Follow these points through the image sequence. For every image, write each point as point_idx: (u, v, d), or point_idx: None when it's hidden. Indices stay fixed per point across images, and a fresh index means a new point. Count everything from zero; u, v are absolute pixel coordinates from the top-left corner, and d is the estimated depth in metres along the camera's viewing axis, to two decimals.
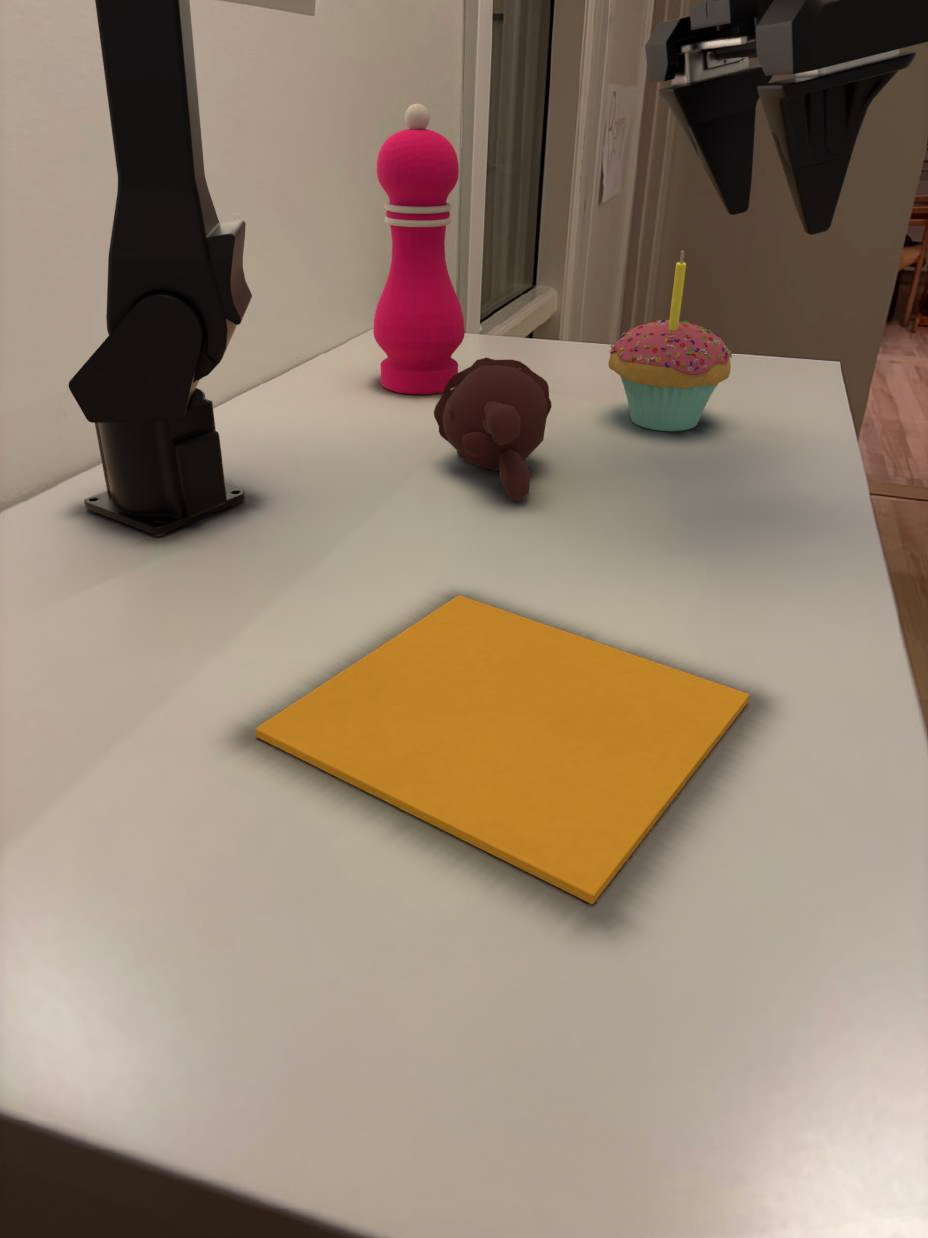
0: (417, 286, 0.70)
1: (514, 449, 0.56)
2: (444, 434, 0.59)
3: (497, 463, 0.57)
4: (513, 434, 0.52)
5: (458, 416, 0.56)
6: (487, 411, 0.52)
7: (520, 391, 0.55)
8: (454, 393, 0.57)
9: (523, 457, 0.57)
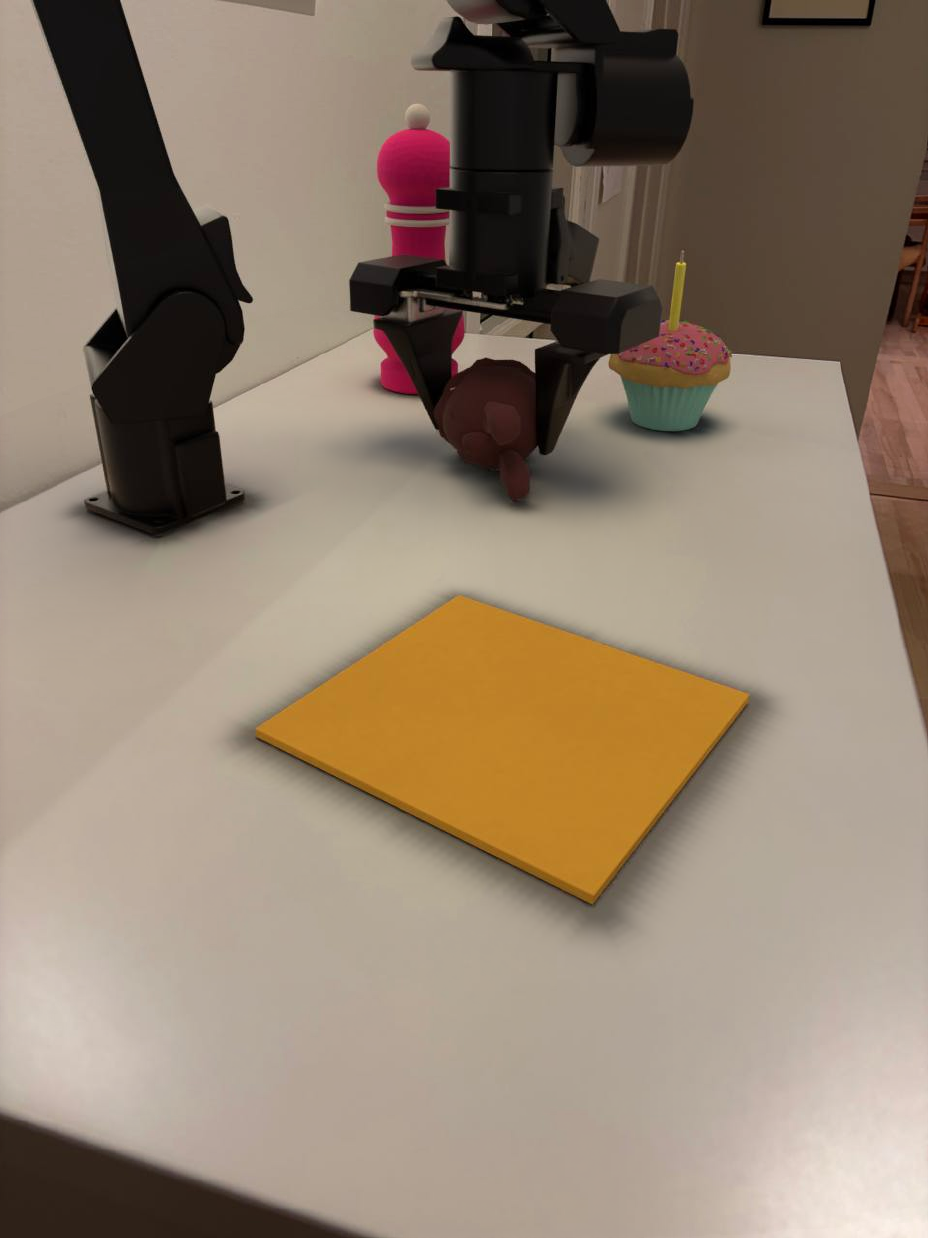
0: None
1: (514, 449, 0.56)
2: (444, 434, 0.59)
3: (497, 463, 0.57)
4: (513, 434, 0.52)
5: (458, 416, 0.56)
6: (487, 411, 0.52)
7: (520, 391, 0.55)
8: (454, 393, 0.57)
9: (523, 457, 0.57)
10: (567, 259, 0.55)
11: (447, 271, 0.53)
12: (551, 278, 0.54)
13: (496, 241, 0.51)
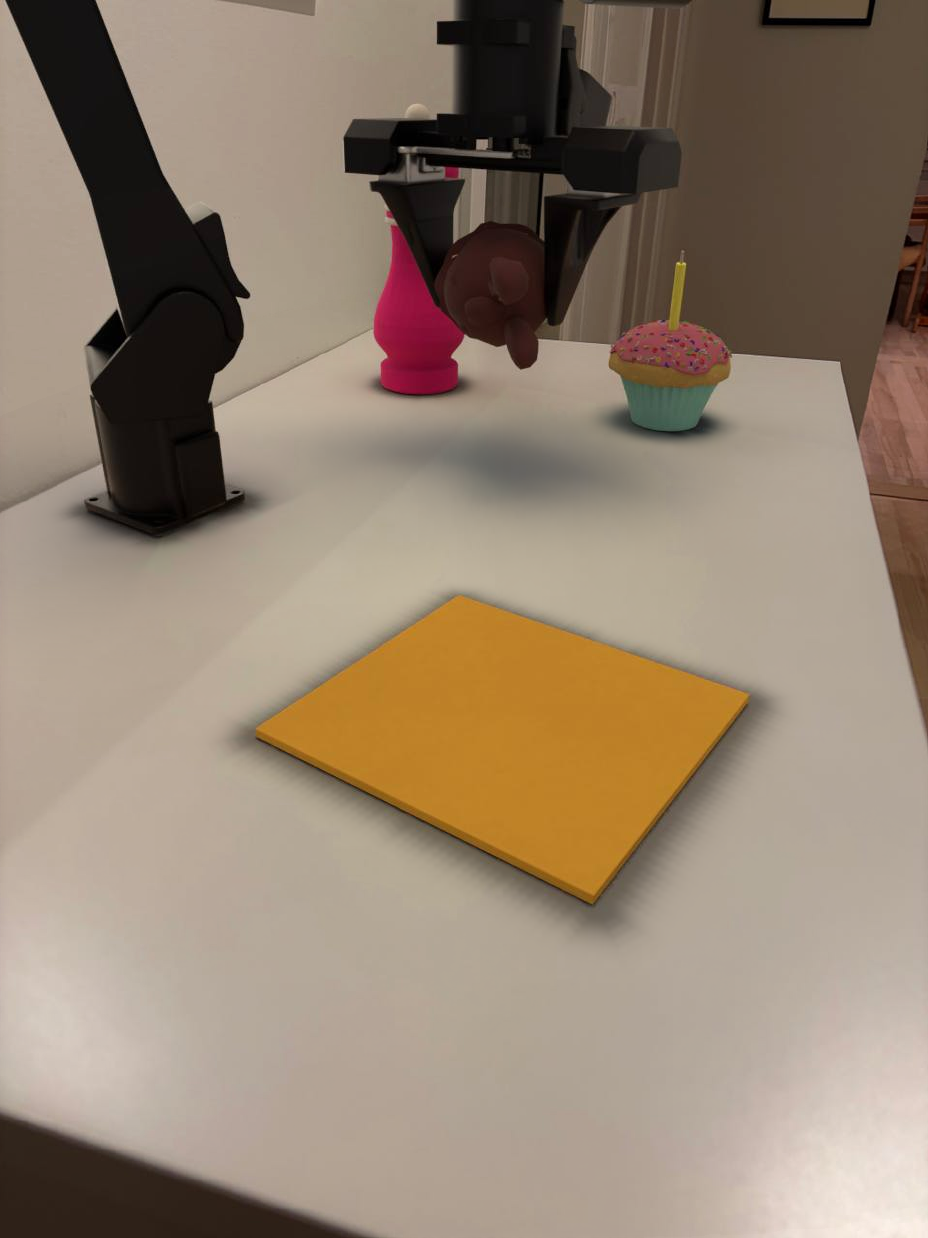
0: (417, 286, 0.70)
1: (520, 317, 0.52)
2: (445, 309, 0.55)
3: (502, 334, 0.53)
4: (521, 289, 0.48)
5: (460, 281, 0.52)
6: (492, 266, 0.48)
7: (528, 254, 0.51)
8: (456, 259, 0.53)
9: None
10: (578, 109, 0.51)
11: (449, 116, 0.49)
12: (561, 129, 0.50)
13: (502, 77, 0.47)
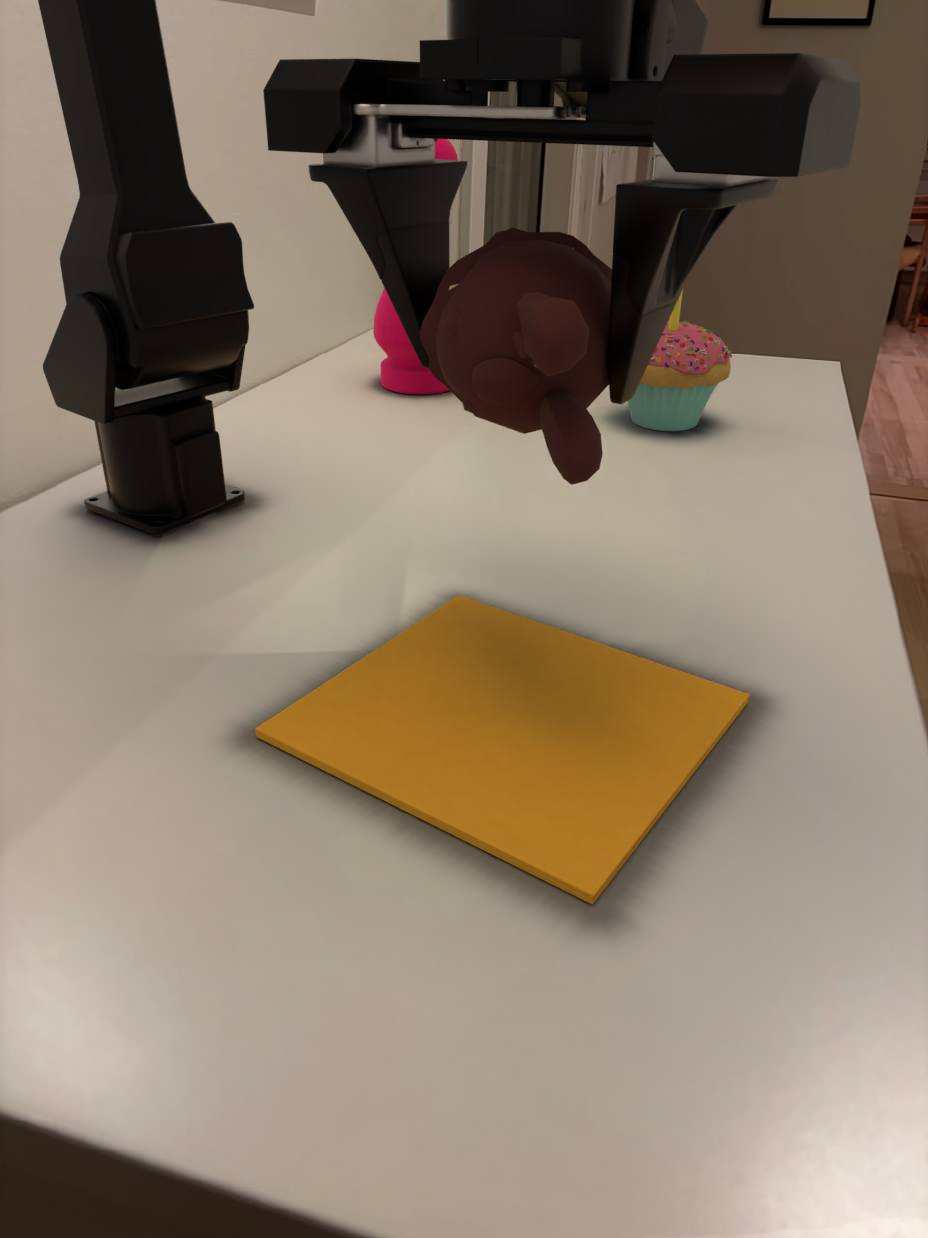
0: None
1: (568, 390, 0.30)
2: (438, 372, 0.34)
3: (536, 418, 0.31)
4: (576, 352, 0.26)
5: (464, 331, 0.30)
6: (524, 310, 0.27)
7: (579, 284, 0.30)
8: (456, 292, 0.31)
9: None
10: (665, 35, 0.29)
11: (442, 44, 0.27)
12: (636, 69, 0.29)
13: None
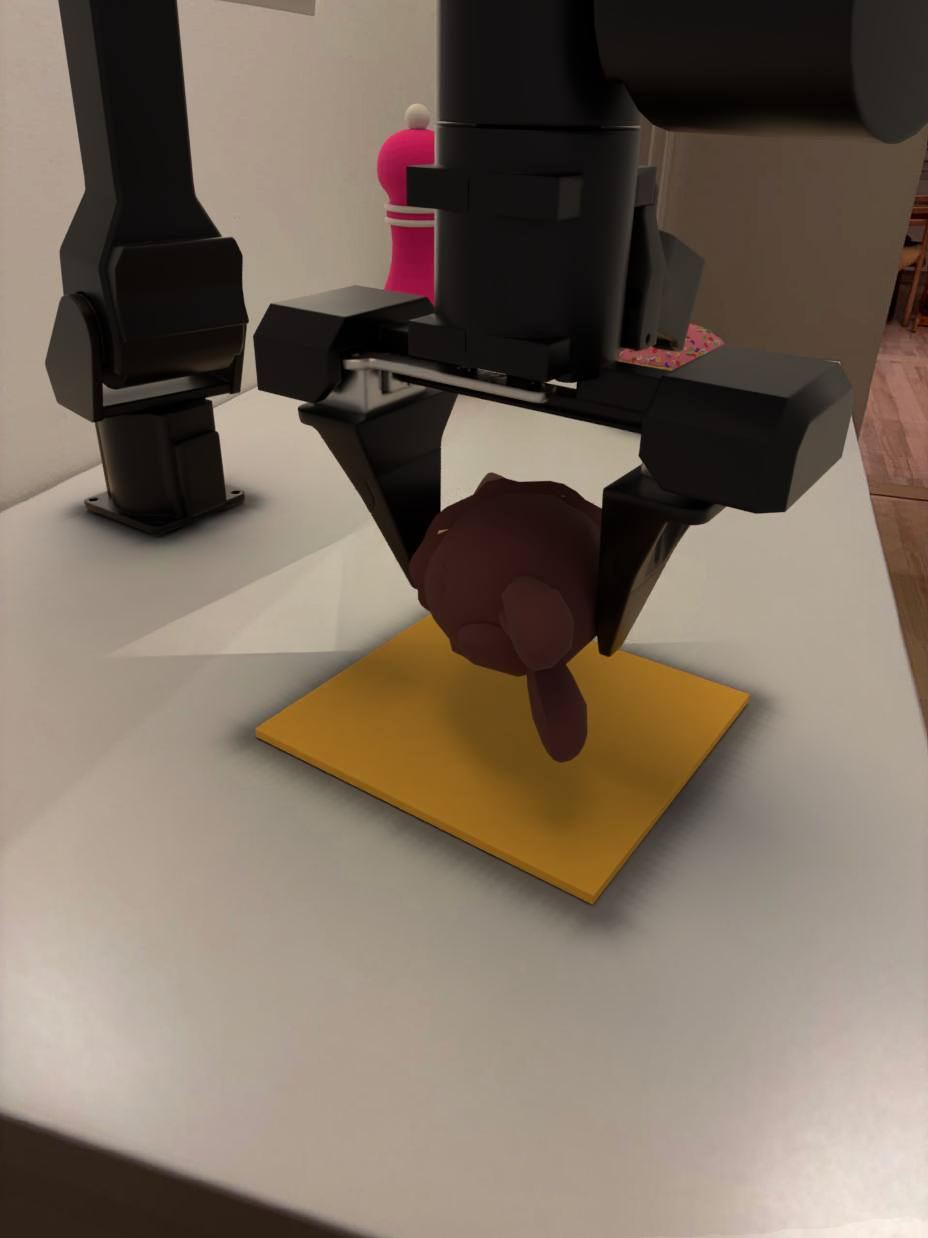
0: (417, 286, 0.70)
1: None
2: (427, 604, 0.34)
3: (523, 672, 0.31)
4: (560, 654, 0.26)
5: (451, 591, 0.30)
6: (508, 605, 0.27)
7: (568, 548, 0.30)
8: (445, 544, 0.31)
9: (570, 658, 0.31)
10: (658, 303, 0.29)
11: (430, 328, 0.27)
12: (628, 339, 0.29)
13: (527, 274, 0.25)
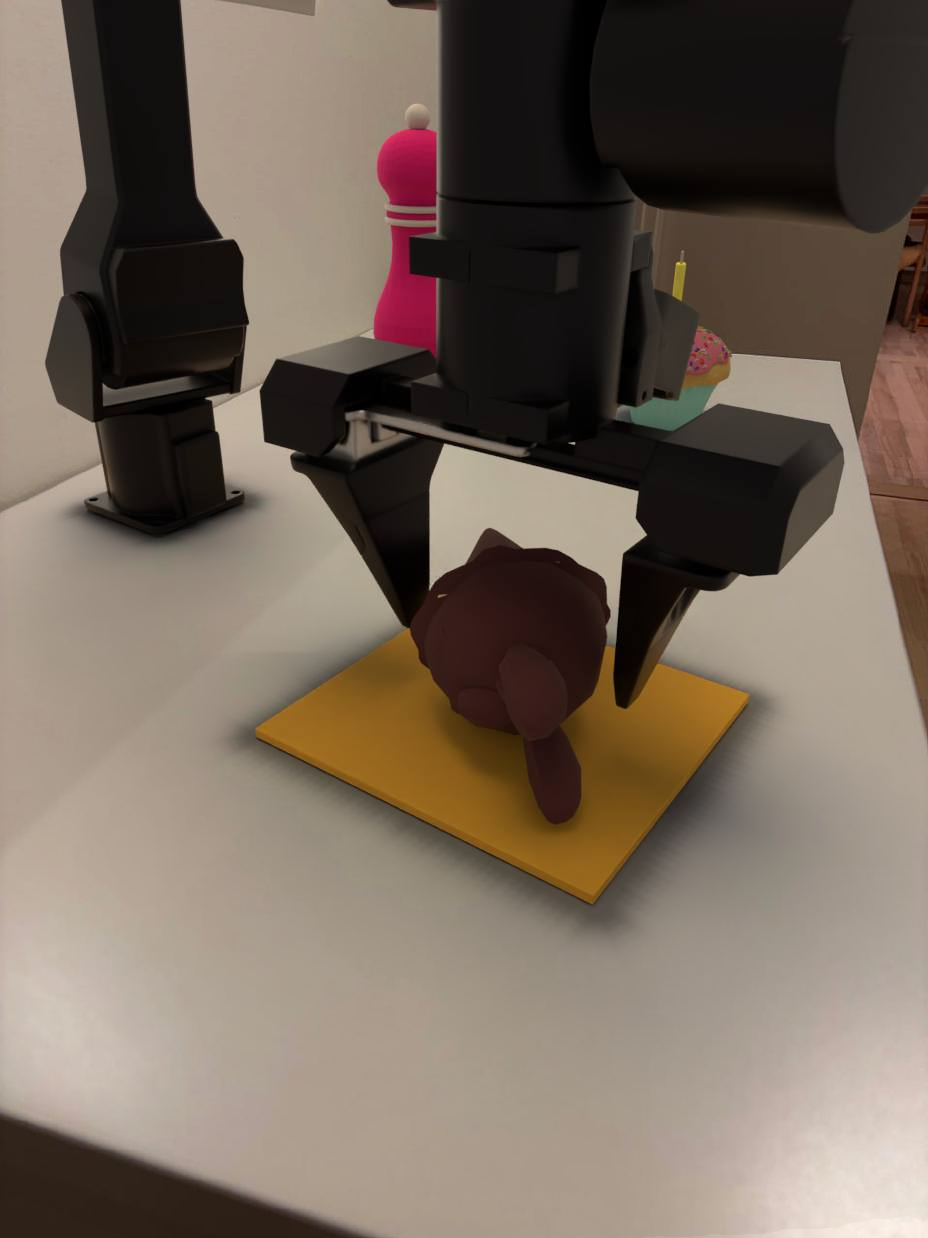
0: (417, 286, 0.70)
1: None
2: (428, 663, 0.35)
3: None
4: (554, 725, 0.27)
5: (451, 656, 0.31)
6: (505, 677, 0.28)
7: (562, 615, 0.31)
8: (444, 609, 0.32)
9: (565, 718, 0.33)
10: (654, 361, 0.30)
11: (432, 390, 0.28)
12: (625, 396, 0.30)
13: (527, 341, 0.26)
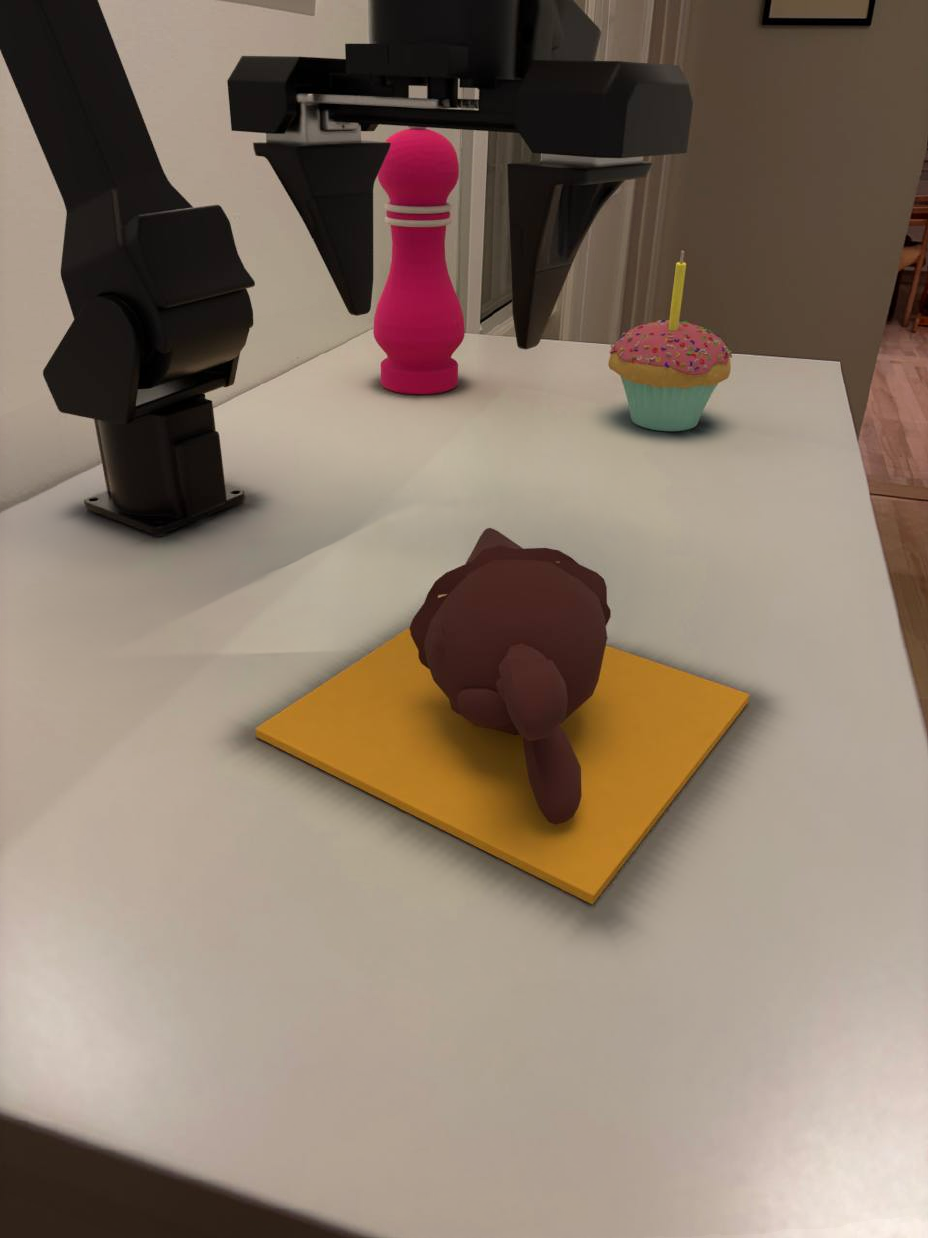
0: (417, 286, 0.70)
1: None
2: (428, 663, 0.35)
3: None
4: (554, 725, 0.27)
5: (451, 656, 0.31)
6: (505, 677, 0.28)
7: (562, 615, 0.31)
8: (444, 609, 0.32)
9: (565, 718, 0.33)
10: (549, 42, 0.36)
11: (361, 47, 0.34)
12: (524, 69, 0.36)
13: None
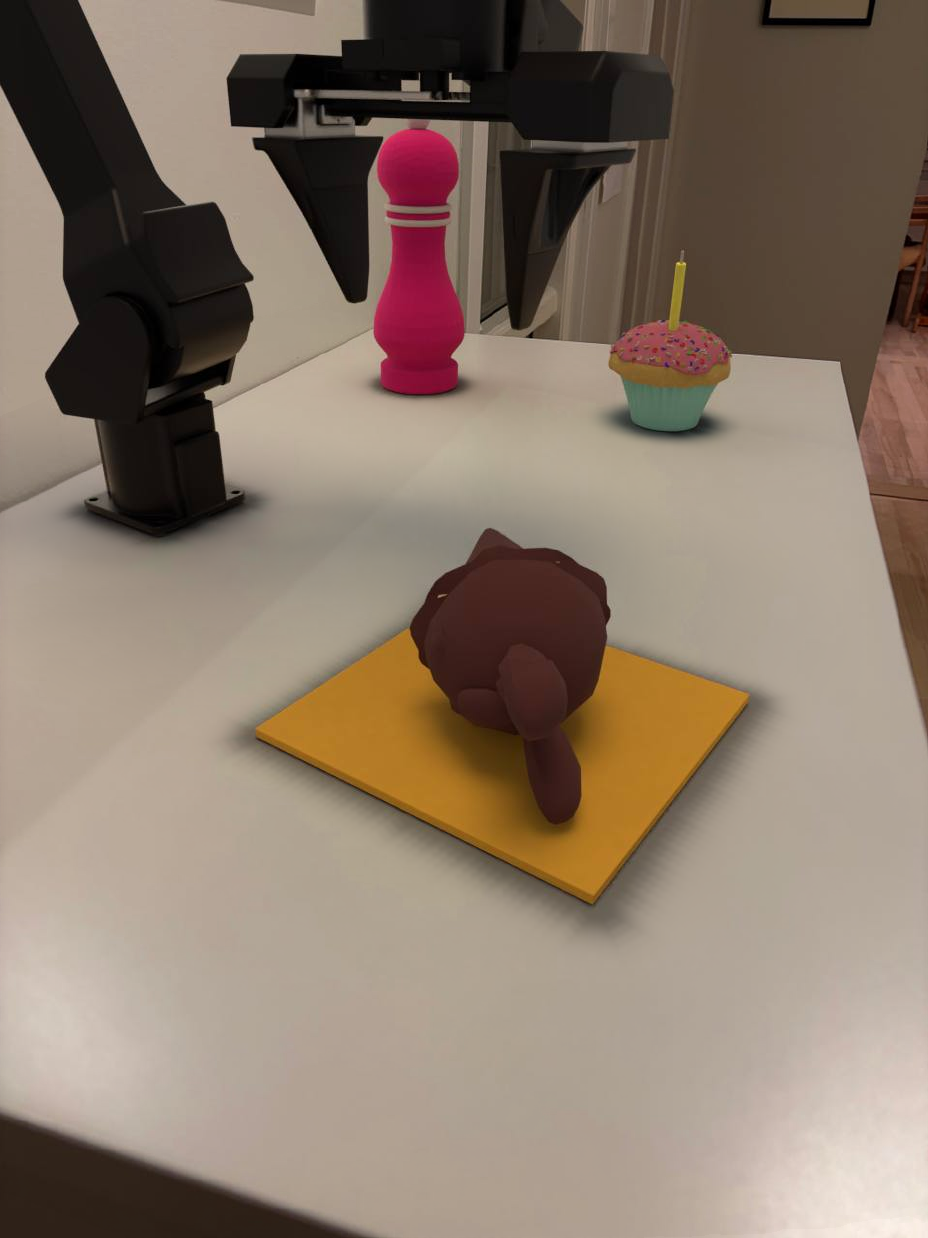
0: (417, 286, 0.70)
1: None
2: (428, 663, 0.35)
3: None
4: (554, 725, 0.27)
5: (451, 656, 0.31)
6: (505, 677, 0.28)
7: (562, 615, 0.31)
8: (444, 609, 0.32)
9: (565, 718, 0.33)
10: (535, 36, 0.38)
11: (357, 43, 0.36)
12: (512, 62, 0.38)
13: None
